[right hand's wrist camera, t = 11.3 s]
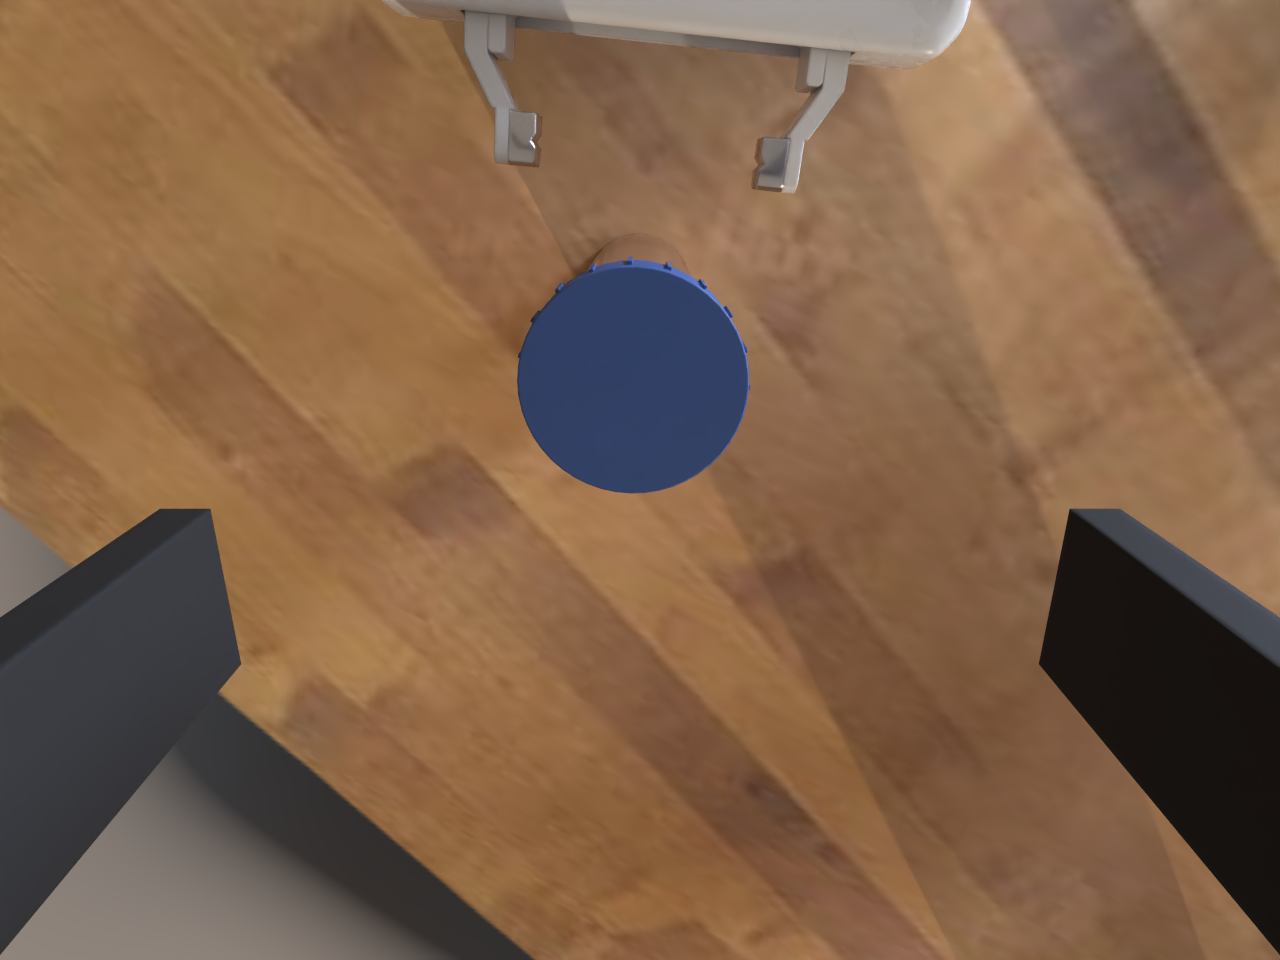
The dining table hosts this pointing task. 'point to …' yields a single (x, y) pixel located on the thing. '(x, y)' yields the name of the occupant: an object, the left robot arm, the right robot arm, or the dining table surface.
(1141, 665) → the right robot arm
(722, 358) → the lid
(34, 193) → the dining table surface
